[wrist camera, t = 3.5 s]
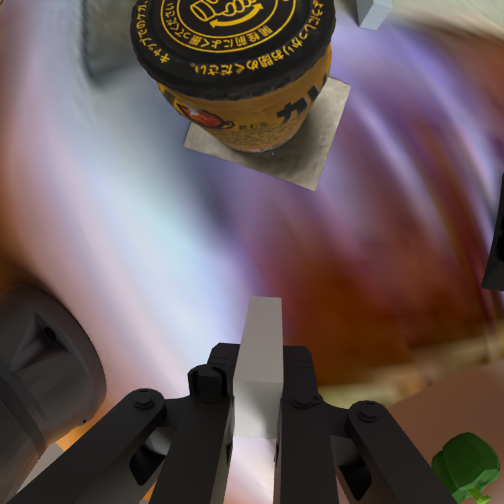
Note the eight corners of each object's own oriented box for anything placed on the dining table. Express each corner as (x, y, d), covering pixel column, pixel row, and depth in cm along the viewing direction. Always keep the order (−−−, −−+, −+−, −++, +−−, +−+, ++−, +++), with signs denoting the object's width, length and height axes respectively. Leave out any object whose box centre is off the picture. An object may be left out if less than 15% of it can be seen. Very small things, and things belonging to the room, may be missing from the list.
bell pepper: (414, 454, 23) (438, 520, 14) (474, 413, 22) (511, 472, 12) (431, 473, 25) (451, 527, 15) (482, 438, 23) (510, 488, 13)
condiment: (223, 46, 16) (165, -79, 4) (350, 86, 16) (444, -11, 4) (183, 147, 17) (57, 117, 6) (314, 191, 18) (388, 221, 6)
